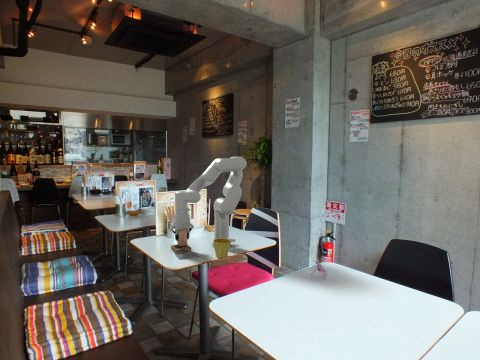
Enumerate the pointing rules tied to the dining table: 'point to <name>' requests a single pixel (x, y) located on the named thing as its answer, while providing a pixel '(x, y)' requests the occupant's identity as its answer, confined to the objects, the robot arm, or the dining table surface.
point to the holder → (183, 249)
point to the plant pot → (221, 247)
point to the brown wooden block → (182, 237)
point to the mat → (186, 255)
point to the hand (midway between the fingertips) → (182, 239)
